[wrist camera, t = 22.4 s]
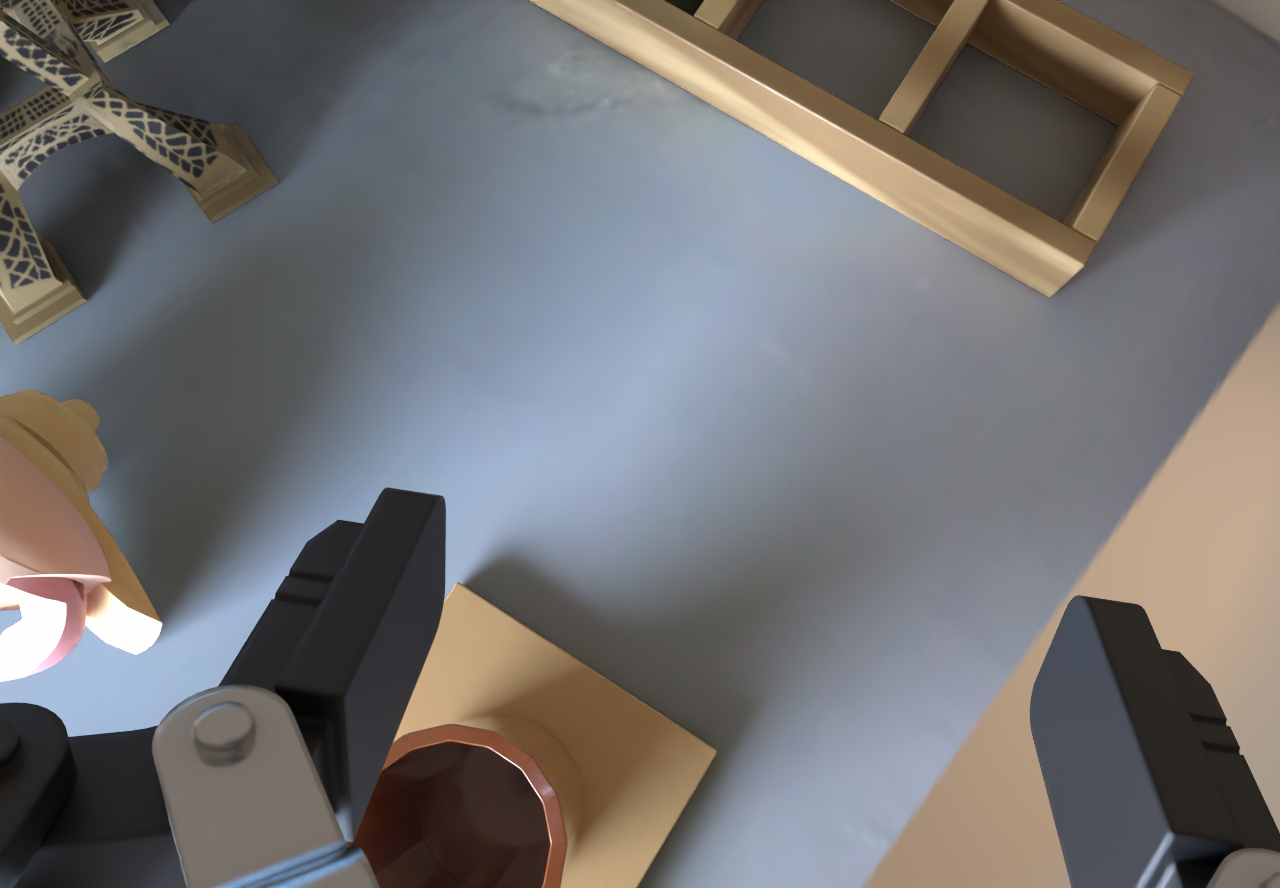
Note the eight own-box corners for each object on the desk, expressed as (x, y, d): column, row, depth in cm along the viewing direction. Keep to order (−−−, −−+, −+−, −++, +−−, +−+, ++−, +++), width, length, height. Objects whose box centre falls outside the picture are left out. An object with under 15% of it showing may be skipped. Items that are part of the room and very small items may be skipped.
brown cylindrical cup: (616, 776, 34) (610, 807, 25) (521, 932, 33) (479, 1023, 24) (474, 682, 34) (419, 680, 26) (376, 832, 33) (284, 885, 25)
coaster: (717, 750, 34) (718, 751, 34) (545, 1039, 32) (544, 1045, 32) (459, 582, 36) (457, 581, 35) (279, 853, 34) (274, 855, 33)
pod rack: (628, -167, 42) (627, -231, 39) (1154, 118, 39) (1196, 73, 36) (509, -9, 40) (500, -63, 37) (1049, 299, 38) (1084, 267, 35)
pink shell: (-36, 384, 37) (59, 268, 31) (183, 575, 41) (308, 505, 35) (-286, 571, 31) (-227, 472, 25) (-3, 780, 34) (111, 738, 28)
